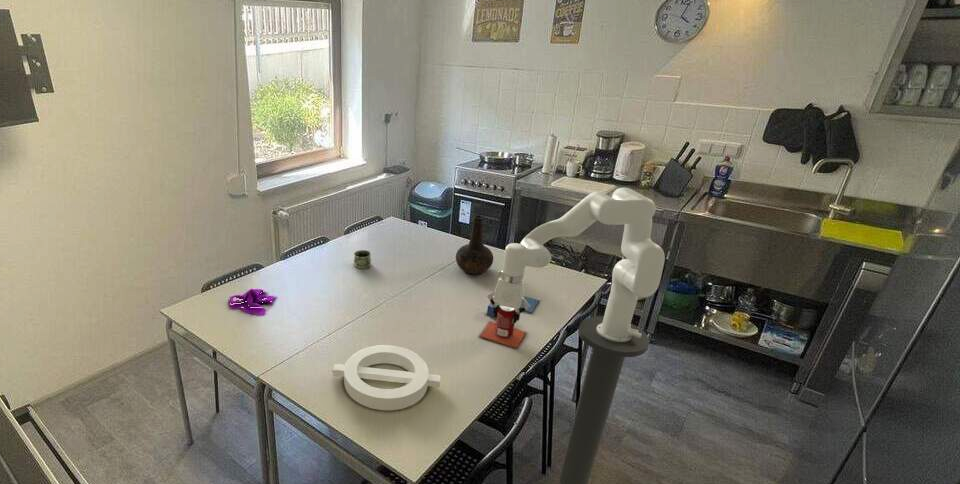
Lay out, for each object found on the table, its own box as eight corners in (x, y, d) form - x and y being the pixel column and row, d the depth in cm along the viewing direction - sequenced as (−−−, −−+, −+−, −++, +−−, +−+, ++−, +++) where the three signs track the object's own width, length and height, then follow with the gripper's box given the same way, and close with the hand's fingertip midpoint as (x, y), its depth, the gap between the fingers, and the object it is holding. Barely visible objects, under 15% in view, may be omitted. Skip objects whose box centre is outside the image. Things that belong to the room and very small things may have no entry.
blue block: (500, 313, 204) (502, 304, 202) (497, 318, 200) (498, 308, 198) (490, 310, 206) (491, 301, 204) (486, 315, 202) (487, 305, 200)
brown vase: (491, 264, 246) (498, 211, 234) (491, 280, 230) (499, 224, 218) (455, 260, 250) (460, 208, 237) (453, 276, 234) (458, 221, 222)
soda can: (507, 340, 185) (511, 313, 179) (491, 334, 189) (494, 307, 183) (515, 333, 189) (520, 306, 184) (499, 327, 193) (503, 300, 188)
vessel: (376, 266, 243) (377, 255, 241) (363, 271, 238) (363, 259, 236) (361, 258, 252) (361, 247, 249) (348, 263, 247) (348, 251, 244)
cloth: (220, 302, 212) (218, 290, 209) (254, 287, 224) (253, 275, 222) (252, 320, 199) (250, 307, 196) (287, 303, 211) (286, 290, 208)
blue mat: (538, 301, 213) (538, 300, 212) (531, 313, 204) (531, 312, 203) (506, 292, 219) (506, 291, 219) (498, 304, 210) (498, 303, 210)
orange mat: (525, 333, 190) (525, 331, 190) (516, 348, 181) (516, 347, 181) (490, 322, 197) (490, 321, 197) (480, 337, 188) (480, 335, 188)
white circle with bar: (328, 374, 168) (328, 363, 166) (392, 346, 182) (392, 336, 180) (377, 423, 147) (377, 411, 145) (445, 387, 162) (446, 376, 160)
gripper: (485, 275, 179) (480, 316, 187) (533, 286, 171) (526, 329, 179) (492, 267, 185) (486, 307, 193) (539, 278, 177) (531, 320, 185)
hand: (505, 318), depth 186 cm, fingers closed on soda can, 6 cm apart
